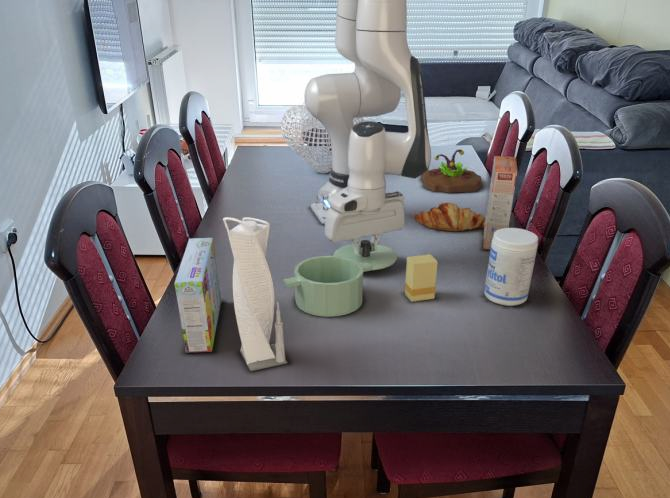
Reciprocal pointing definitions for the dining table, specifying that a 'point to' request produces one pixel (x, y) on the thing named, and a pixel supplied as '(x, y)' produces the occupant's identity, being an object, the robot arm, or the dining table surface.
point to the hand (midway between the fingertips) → (365, 252)
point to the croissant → (450, 218)
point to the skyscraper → (254, 295)
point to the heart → (293, 144)
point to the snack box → (198, 295)
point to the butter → (421, 277)
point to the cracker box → (500, 197)
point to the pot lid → (369, 255)
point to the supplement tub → (510, 266)
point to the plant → (451, 177)
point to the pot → (328, 285)
